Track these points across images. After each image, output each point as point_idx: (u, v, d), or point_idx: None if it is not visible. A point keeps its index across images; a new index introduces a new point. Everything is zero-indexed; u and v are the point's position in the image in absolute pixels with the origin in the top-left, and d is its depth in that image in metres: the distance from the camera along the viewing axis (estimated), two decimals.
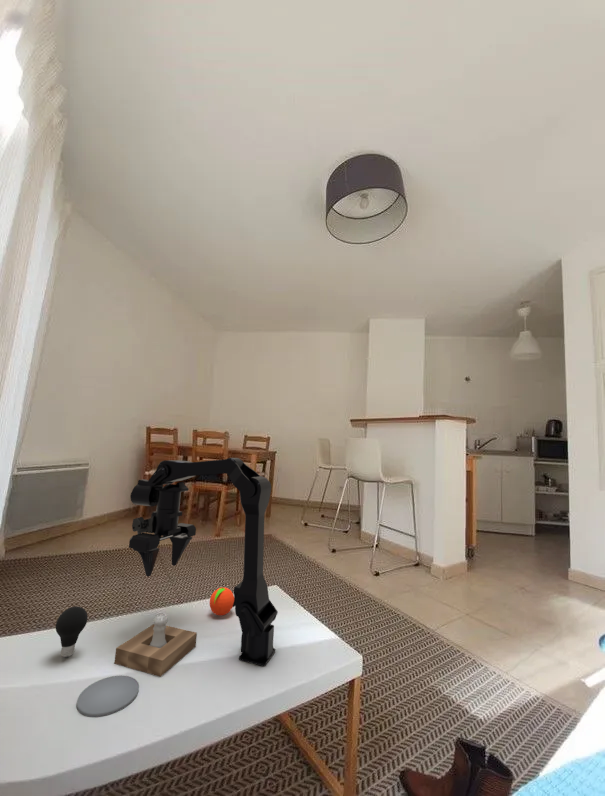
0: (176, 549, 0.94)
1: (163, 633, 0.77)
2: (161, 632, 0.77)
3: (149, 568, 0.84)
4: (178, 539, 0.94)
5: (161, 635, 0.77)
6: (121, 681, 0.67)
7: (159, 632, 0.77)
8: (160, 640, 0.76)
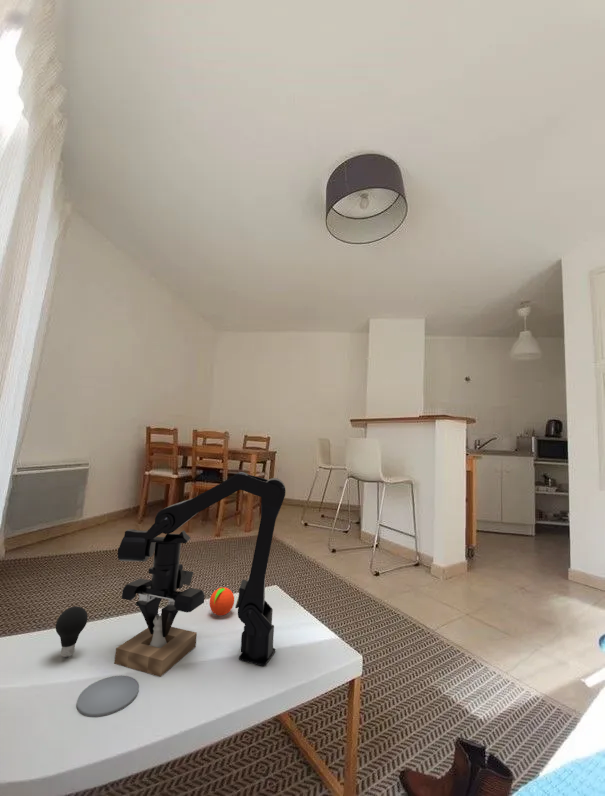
0: None
1: None
2: (161, 632, 0.77)
3: None
4: None
5: (161, 635, 0.77)
6: (121, 681, 0.67)
7: (159, 632, 0.77)
8: (160, 640, 0.76)
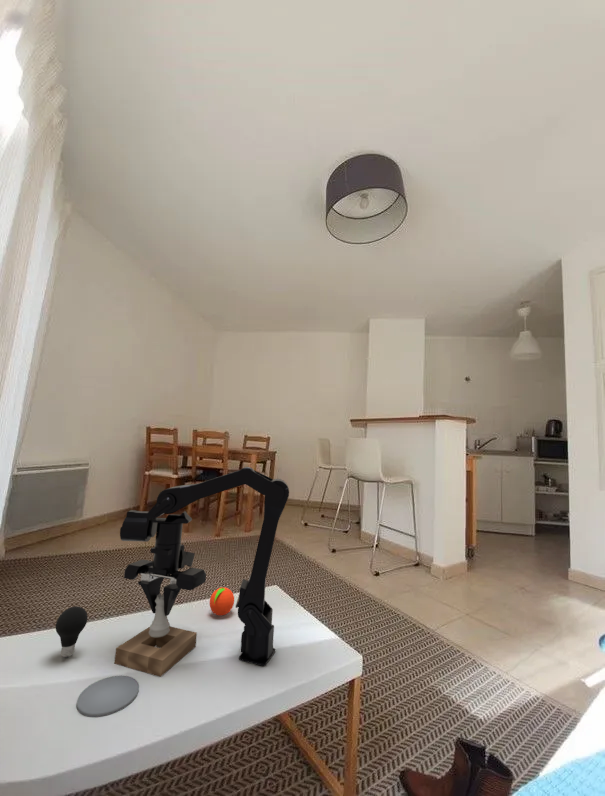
0: None
1: None
2: (163, 611, 0.77)
3: None
4: None
5: (163, 614, 0.77)
6: (121, 681, 0.67)
7: (161, 611, 0.77)
8: (162, 618, 0.77)
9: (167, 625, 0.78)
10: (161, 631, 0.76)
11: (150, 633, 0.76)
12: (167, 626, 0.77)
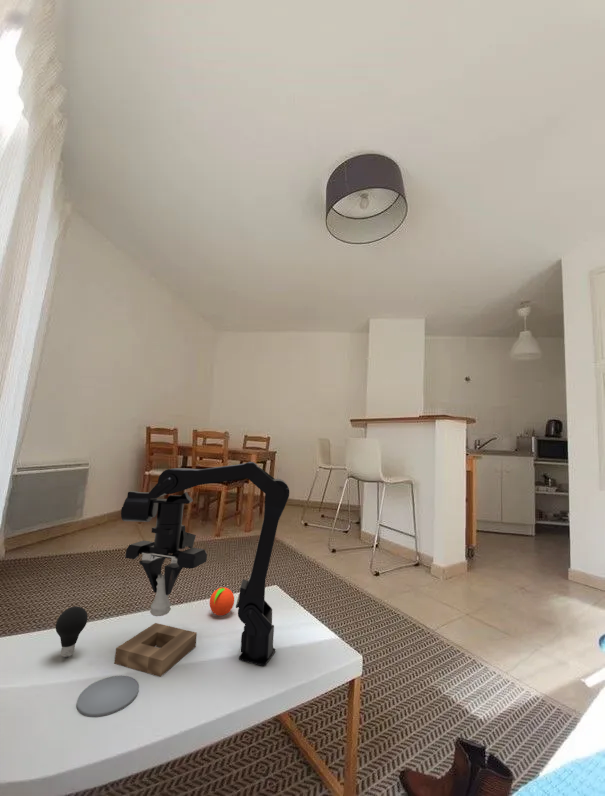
0: None
1: None
2: (164, 590, 0.78)
3: None
4: None
5: (164, 593, 0.78)
6: (121, 681, 0.67)
7: (162, 590, 0.78)
8: (163, 597, 0.77)
9: (169, 604, 0.78)
10: (162, 610, 0.76)
11: (151, 612, 0.77)
12: (168, 605, 0.78)
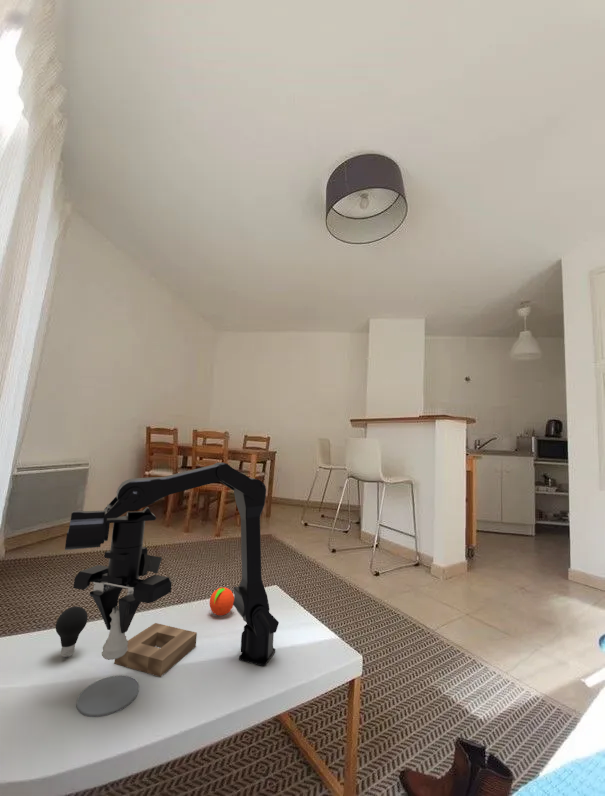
0: None
1: None
2: (119, 627, 0.65)
3: None
4: None
5: (119, 630, 0.65)
6: (121, 681, 0.67)
7: (117, 627, 0.64)
8: (118, 636, 0.64)
9: (125, 644, 0.65)
10: (116, 652, 0.63)
11: (103, 654, 0.63)
12: (124, 645, 0.64)
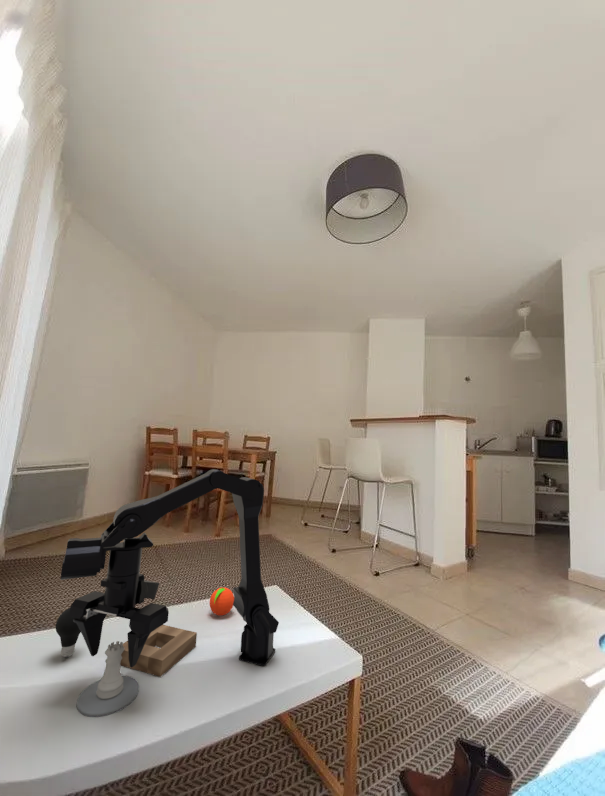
0: None
1: (117, 666, 0.64)
2: (114, 666, 0.63)
3: None
4: None
5: (115, 669, 0.63)
6: None
7: (112, 665, 0.63)
8: (113, 674, 0.63)
9: (120, 682, 0.64)
10: (111, 691, 0.62)
11: (98, 693, 0.62)
12: (119, 684, 0.63)
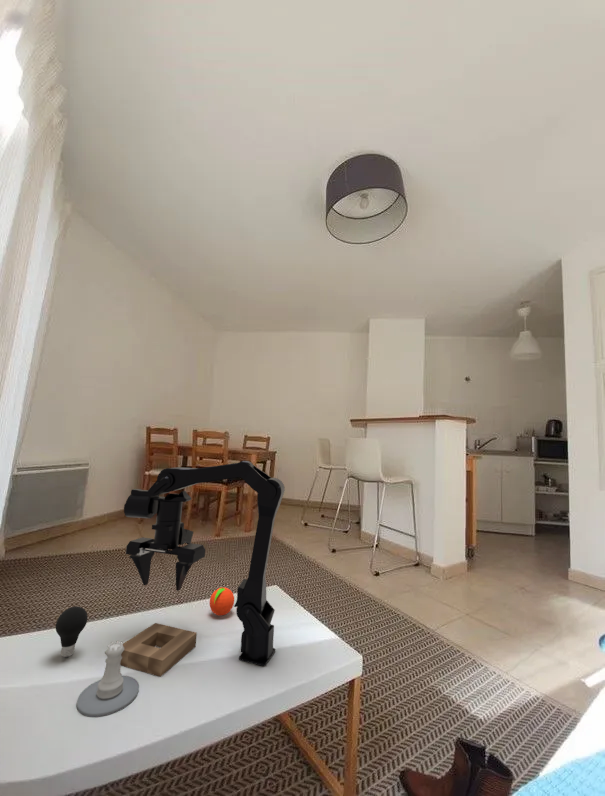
0: None
1: (117, 666, 0.64)
2: (114, 666, 0.63)
3: None
4: None
5: (115, 669, 0.63)
6: None
7: (112, 665, 0.63)
8: (113, 674, 0.63)
9: (120, 682, 0.64)
10: (111, 691, 0.62)
11: (98, 693, 0.62)
12: (119, 684, 0.63)
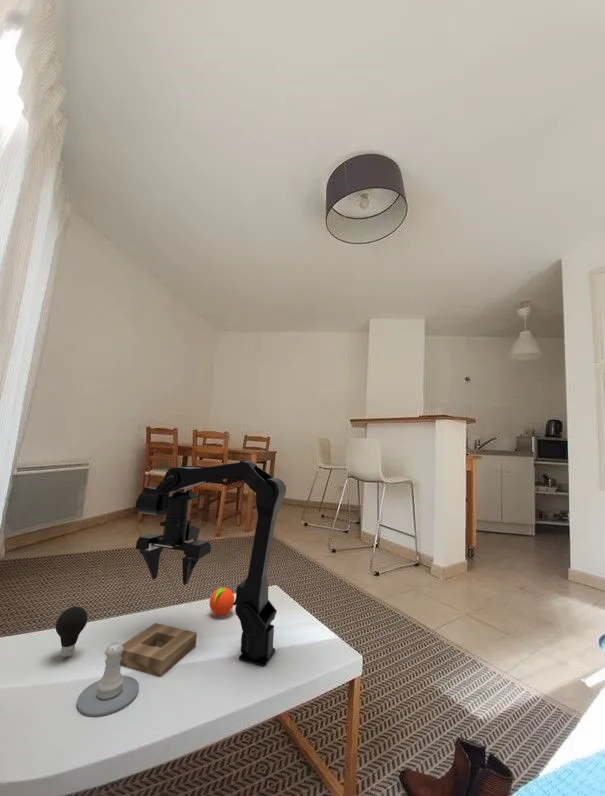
0: None
1: (117, 666, 0.64)
2: (114, 666, 0.63)
3: None
4: None
5: (114, 669, 0.63)
6: None
7: (112, 665, 0.63)
8: (113, 675, 0.63)
9: (120, 682, 0.64)
10: (111, 691, 0.62)
11: (98, 693, 0.62)
12: (119, 684, 0.63)
